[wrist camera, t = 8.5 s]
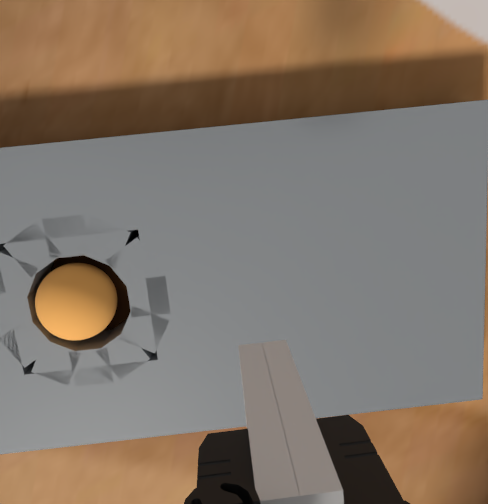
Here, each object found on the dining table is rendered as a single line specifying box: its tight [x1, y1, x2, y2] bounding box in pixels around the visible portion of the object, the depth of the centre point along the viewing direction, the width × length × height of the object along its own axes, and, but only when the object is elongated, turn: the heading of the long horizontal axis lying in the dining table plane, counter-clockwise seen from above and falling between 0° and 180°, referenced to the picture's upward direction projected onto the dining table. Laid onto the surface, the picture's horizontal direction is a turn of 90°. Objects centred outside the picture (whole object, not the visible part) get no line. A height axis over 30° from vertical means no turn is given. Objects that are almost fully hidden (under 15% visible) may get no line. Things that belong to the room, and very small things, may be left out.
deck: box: [0, 100, 488, 454], centre depth 25 cm, size 28×16×2 cm, turn 96°
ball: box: [35, 263, 117, 340], centre depth 24 cm, size 4×4×4 cm
